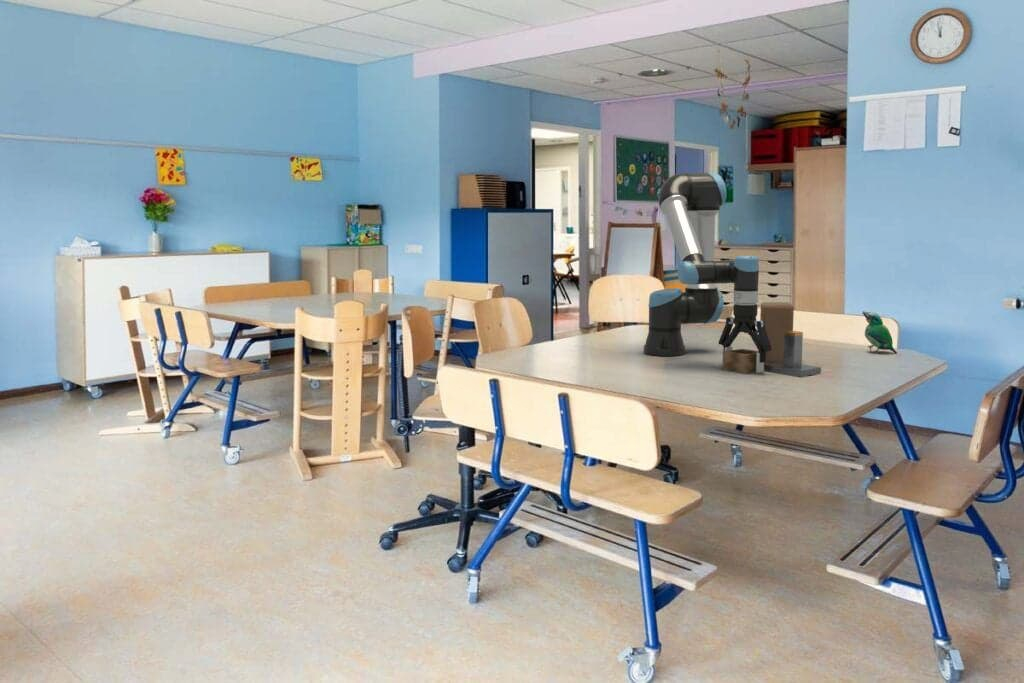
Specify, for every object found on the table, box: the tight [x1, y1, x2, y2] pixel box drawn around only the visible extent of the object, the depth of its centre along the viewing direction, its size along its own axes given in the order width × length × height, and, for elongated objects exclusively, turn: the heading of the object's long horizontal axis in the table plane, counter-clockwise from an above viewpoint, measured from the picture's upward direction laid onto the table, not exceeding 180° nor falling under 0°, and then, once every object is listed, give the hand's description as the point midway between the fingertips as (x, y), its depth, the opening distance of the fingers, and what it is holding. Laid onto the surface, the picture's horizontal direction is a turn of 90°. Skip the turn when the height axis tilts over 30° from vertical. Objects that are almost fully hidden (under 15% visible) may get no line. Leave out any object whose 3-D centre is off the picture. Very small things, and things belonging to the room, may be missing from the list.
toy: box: [861, 310, 898, 354], centre depth 305 cm, size 12×8×15 cm, turn 73°
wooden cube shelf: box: [722, 348, 766, 375], centre depth 276 cm, size 10×10×6 cm
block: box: [759, 301, 795, 364], centre depth 290 cm, size 10×10×20 cm
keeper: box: [764, 330, 822, 378], centre depth 271 cm, size 14×10×13 cm
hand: (743, 369), depth 276 cm, fingers open, 12 cm apart
